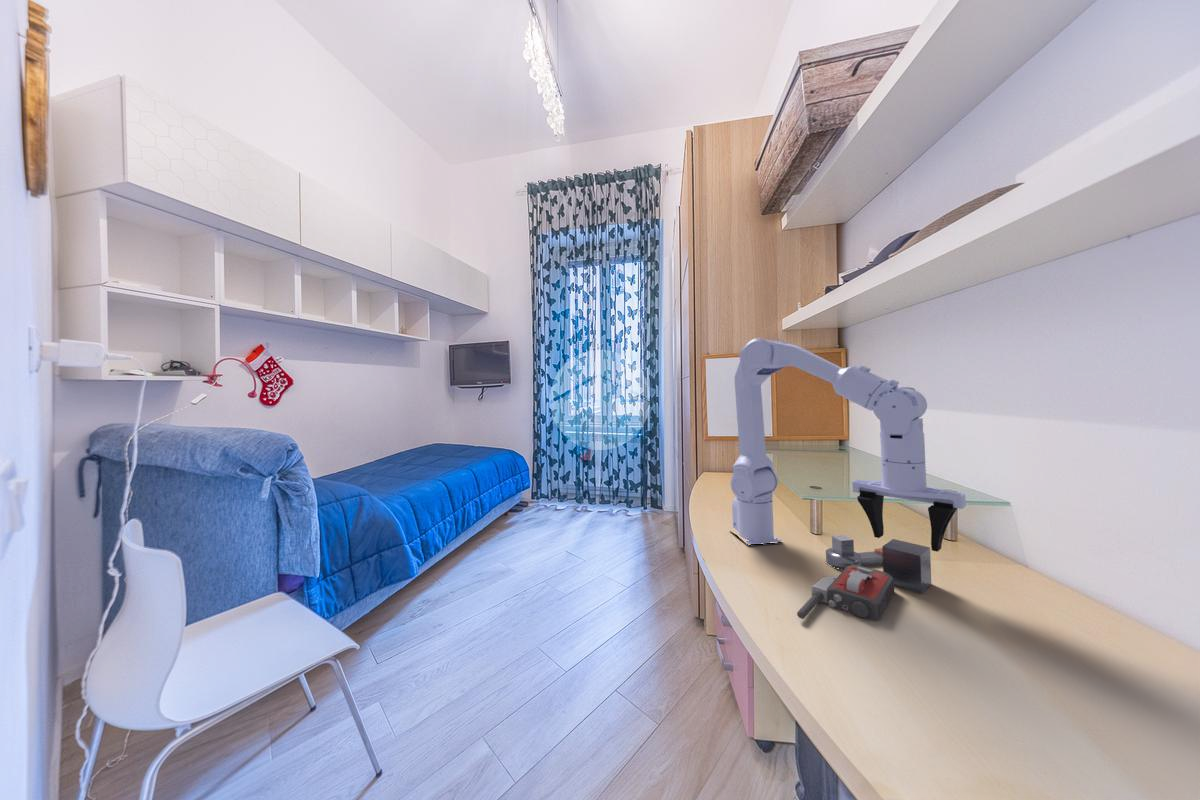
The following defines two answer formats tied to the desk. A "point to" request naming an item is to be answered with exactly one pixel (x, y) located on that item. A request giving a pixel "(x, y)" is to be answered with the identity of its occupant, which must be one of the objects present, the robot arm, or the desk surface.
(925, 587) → the dark grey block
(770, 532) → the robot arm
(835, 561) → the ratchet
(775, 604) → the desk surface
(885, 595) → the walkie-talkie
